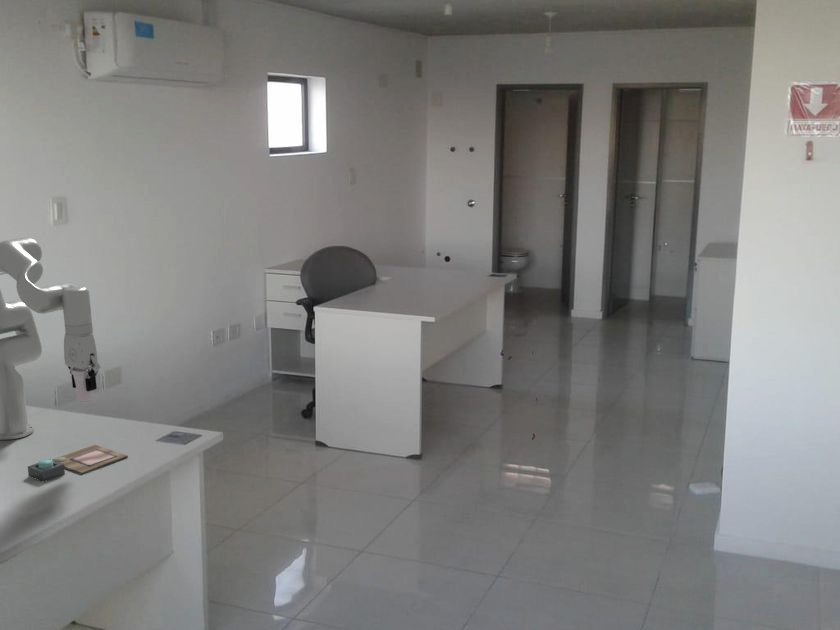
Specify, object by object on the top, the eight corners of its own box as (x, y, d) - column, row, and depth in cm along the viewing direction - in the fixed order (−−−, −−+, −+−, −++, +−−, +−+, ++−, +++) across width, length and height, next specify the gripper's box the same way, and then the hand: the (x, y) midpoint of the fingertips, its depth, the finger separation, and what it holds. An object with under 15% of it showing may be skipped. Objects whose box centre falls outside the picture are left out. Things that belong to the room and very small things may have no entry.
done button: (36, 472, 268) (35, 462, 267) (48, 468, 271) (47, 458, 270) (44, 475, 265) (43, 465, 265) (56, 471, 269) (55, 461, 268)
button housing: (28, 476, 268) (27, 466, 267) (50, 468, 273) (49, 458, 272) (42, 481, 264) (41, 471, 263) (64, 473, 269) (63, 464, 269)
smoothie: (90, 403, 274) (85, 357, 271) (70, 403, 275) (65, 357, 272) (101, 397, 280) (97, 352, 277) (81, 396, 281) (77, 351, 278)
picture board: (49, 462, 278) (48, 460, 278) (95, 446, 290) (94, 444, 290) (81, 474, 269) (81, 472, 268) (127, 457, 281) (127, 455, 281)
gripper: (49, 328, 275) (56, 387, 279) (86, 335, 265) (92, 396, 269) (71, 323, 281) (77, 381, 285) (108, 330, 271) (113, 389, 275)
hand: (84, 387), depth 277 cm, fingers closed on smoothie, 5 cm apart
